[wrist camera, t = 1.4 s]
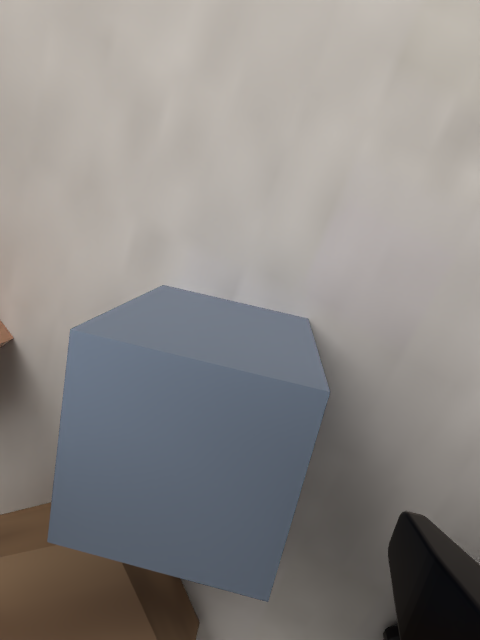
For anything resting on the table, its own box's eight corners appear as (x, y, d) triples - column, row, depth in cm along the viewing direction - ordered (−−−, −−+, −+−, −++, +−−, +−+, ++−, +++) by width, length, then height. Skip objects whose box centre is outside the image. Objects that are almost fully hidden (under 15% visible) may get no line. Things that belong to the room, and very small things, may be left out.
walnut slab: (201, 615, 17) (183, 697, 14) (60, 639, 18) (16, 719, 15) (141, 475, 15) (108, 533, 12) (-7, 512, 17) (-69, 572, 14)
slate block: (307, 318, 13) (330, 392, 7) (273, 448, 14) (267, 602, 8) (163, 284, 13) (70, 329, 7) (141, 415, 14) (47, 542, 9)
